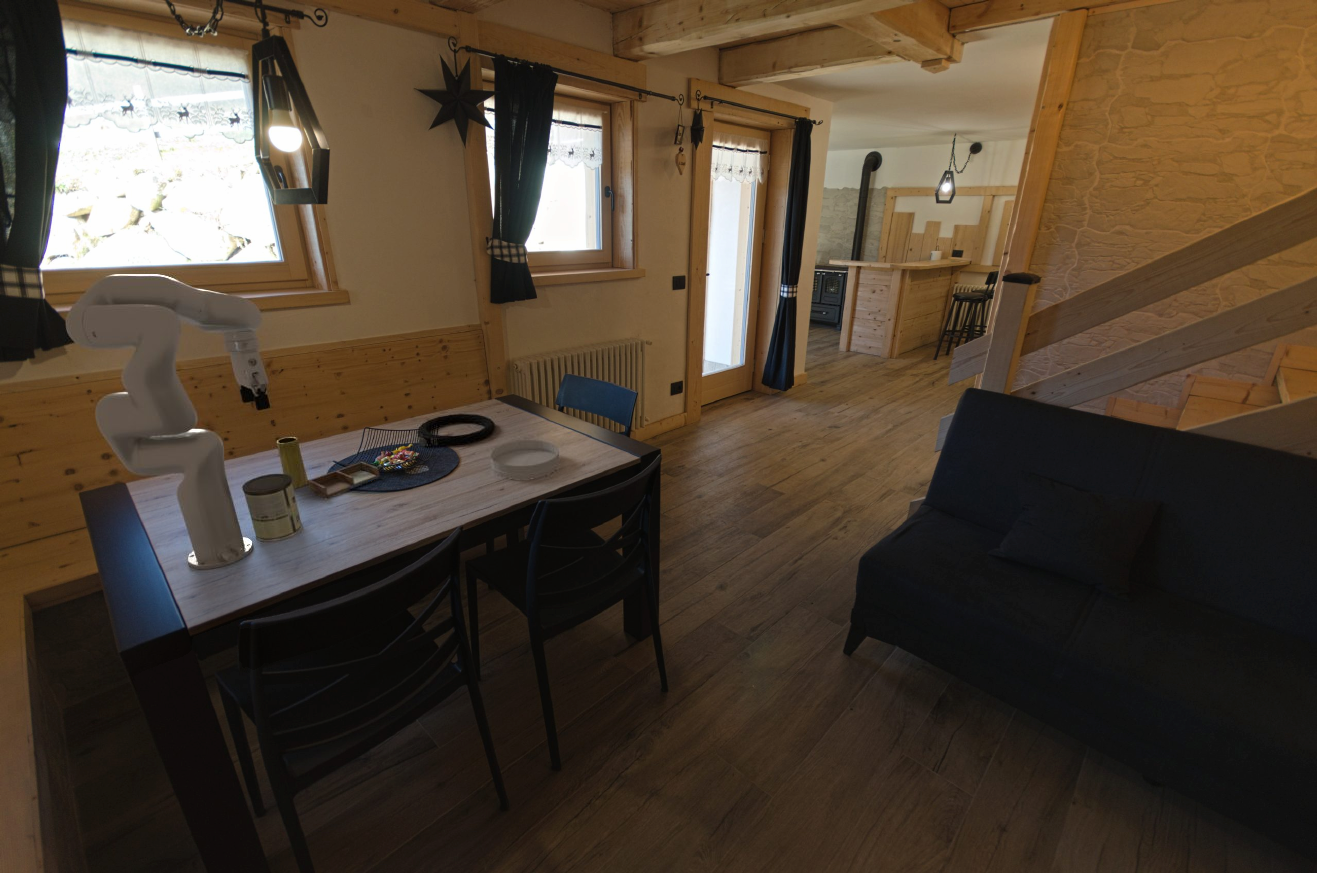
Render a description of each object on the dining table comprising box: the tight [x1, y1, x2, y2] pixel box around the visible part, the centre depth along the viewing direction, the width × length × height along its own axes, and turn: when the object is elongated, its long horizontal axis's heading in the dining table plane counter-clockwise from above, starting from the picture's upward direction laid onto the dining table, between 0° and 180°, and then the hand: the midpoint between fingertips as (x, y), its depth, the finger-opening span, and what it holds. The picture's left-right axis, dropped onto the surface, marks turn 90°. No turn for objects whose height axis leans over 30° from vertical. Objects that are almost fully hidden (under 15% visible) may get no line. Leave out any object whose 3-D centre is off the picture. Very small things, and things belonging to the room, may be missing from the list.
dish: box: [490, 439, 561, 480], centre depth 189 cm, size 22×22×5 cm
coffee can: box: [242, 473, 303, 543], centre depth 146 cm, size 10×10×14 cm
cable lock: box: [416, 413, 496, 447], centre depth 215 cm, size 28×4×30 cm
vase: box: [276, 436, 309, 489], centre depth 171 cm, size 6×6×14 cm
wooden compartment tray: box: [307, 461, 380, 499], centre depth 173 cm, size 8×17×4 cm, turn 148°
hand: (256, 405), depth 162 cm, fingers open, 9 cm apart
